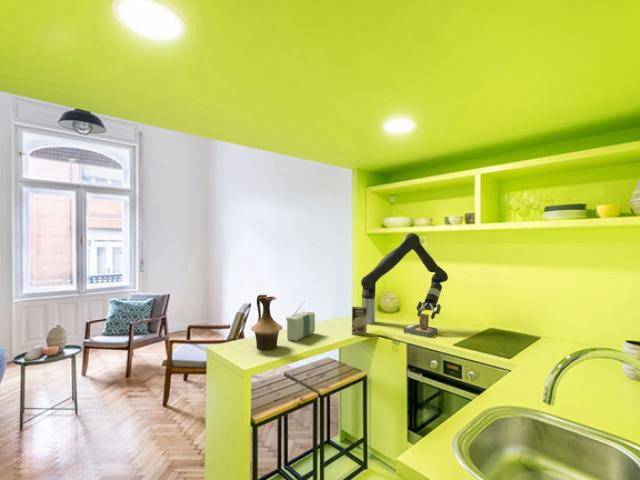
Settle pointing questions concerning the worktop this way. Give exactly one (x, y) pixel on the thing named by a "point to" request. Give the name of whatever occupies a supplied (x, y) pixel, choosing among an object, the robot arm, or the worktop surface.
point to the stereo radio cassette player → (300, 325)
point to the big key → (423, 330)
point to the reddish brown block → (424, 321)
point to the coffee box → (359, 321)
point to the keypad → (412, 330)
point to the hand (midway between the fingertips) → (425, 317)
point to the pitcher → (266, 325)
